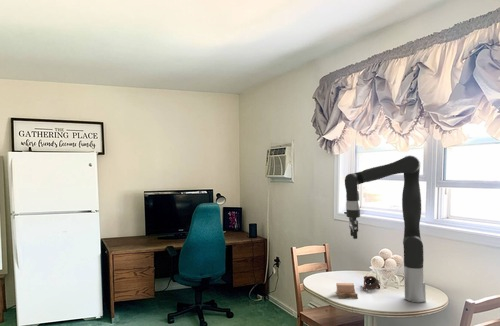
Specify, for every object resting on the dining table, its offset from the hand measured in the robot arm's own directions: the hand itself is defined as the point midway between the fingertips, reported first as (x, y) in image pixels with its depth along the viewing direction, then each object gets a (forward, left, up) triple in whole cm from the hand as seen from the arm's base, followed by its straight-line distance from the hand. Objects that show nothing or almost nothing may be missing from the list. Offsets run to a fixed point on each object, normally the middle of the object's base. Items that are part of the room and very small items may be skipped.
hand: (353, 237), depth 202 cm
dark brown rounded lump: (-9, -4, -30) cm, 32 cm away
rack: (+6, +7, -30) cm, 32 cm away
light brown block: (+7, +7, -29) cm, 31 cm away
